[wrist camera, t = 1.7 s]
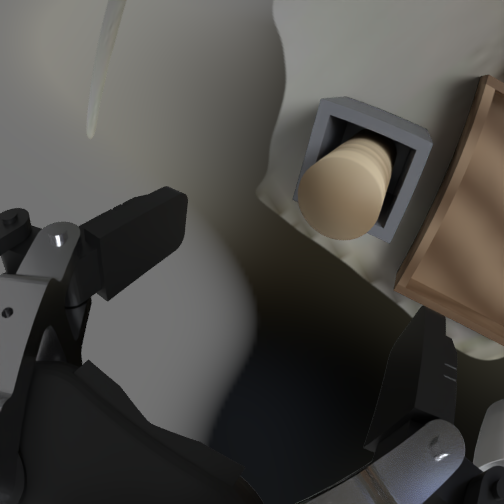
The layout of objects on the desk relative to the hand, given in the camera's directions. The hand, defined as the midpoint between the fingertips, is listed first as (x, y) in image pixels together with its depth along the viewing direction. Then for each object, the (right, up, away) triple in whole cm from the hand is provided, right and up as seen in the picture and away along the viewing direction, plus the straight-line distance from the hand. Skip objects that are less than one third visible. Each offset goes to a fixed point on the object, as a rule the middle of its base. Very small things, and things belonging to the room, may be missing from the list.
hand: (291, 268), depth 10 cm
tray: (+22, +3, +11) cm, 24 cm away
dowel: (+9, +9, +15) cm, 19 cm away
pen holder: (+9, +9, +15) cm, 20 cm away
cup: (+32, -21, +19) cm, 43 cm away
